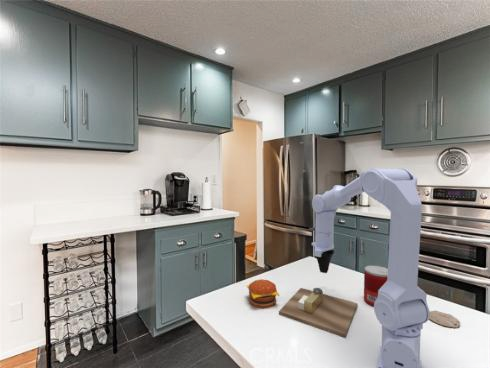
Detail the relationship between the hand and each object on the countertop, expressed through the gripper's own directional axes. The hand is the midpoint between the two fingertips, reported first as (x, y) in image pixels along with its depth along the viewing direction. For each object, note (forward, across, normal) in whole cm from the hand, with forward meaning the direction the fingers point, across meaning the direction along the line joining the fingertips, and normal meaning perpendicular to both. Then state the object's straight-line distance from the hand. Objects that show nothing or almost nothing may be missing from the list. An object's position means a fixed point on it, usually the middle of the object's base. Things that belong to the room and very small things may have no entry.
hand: (323, 272), depth 82 cm
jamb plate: (+10, +6, 0) cm, 12 cm away
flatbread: (+10, -9, +32) cm, 35 cm away
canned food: (+10, -9, +15) cm, 20 cm away
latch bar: (+9, +6, -1) cm, 11 cm away
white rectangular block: (+9, +8, -4) cm, 12 cm away
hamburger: (+10, +11, -17) cm, 23 cm away
